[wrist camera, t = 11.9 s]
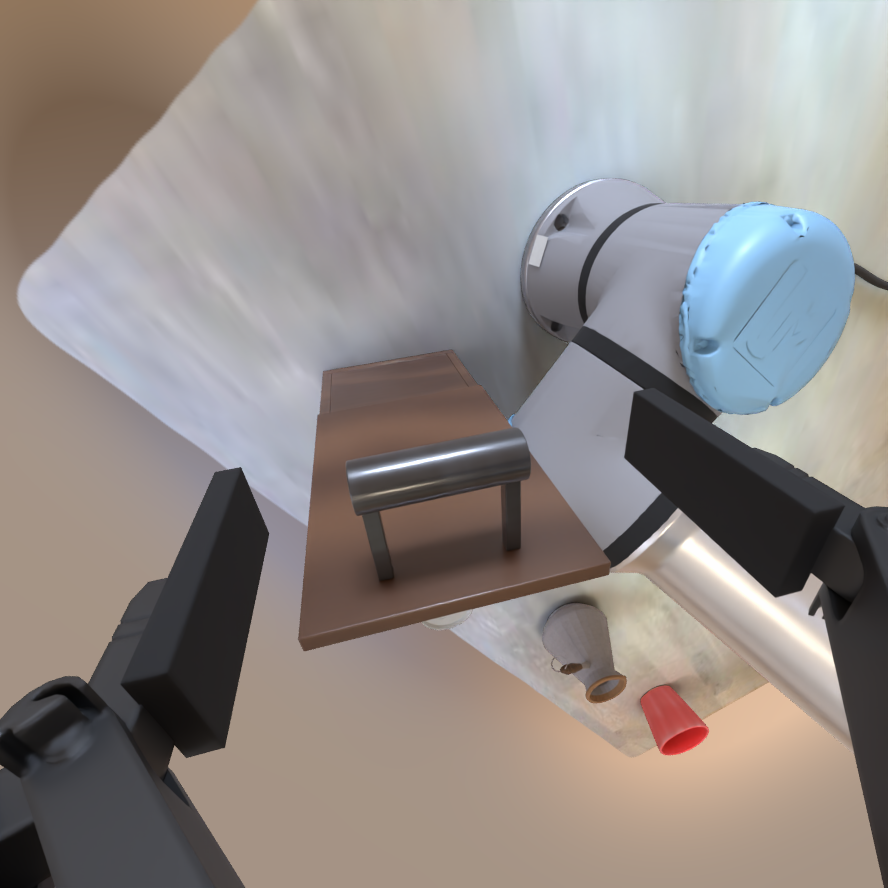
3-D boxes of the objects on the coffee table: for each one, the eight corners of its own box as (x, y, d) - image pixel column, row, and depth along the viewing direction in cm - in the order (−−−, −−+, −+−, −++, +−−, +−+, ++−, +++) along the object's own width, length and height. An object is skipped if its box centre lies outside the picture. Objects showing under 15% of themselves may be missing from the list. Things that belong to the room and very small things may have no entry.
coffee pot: (609, 612, 76) (663, 696, 63) (557, 647, 78) (599, 735, 65) (548, 557, 65) (598, 645, 52) (490, 600, 67) (525, 694, 54)
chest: (465, 493, 55) (489, 549, 46) (361, 515, 54) (365, 578, 45) (452, 349, 45) (479, 386, 36) (322, 371, 43) (318, 416, 35)
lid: (609, 575, 19) (631, 443, 15) (303, 652, 17) (243, 524, 14) (481, 393, 36) (477, 309, 32) (320, 423, 34) (295, 338, 31)
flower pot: (632, 692, 93) (661, 740, 85) (679, 674, 93) (711, 720, 85) (633, 714, 99) (660, 761, 90) (676, 698, 99) (707, 743, 91)
